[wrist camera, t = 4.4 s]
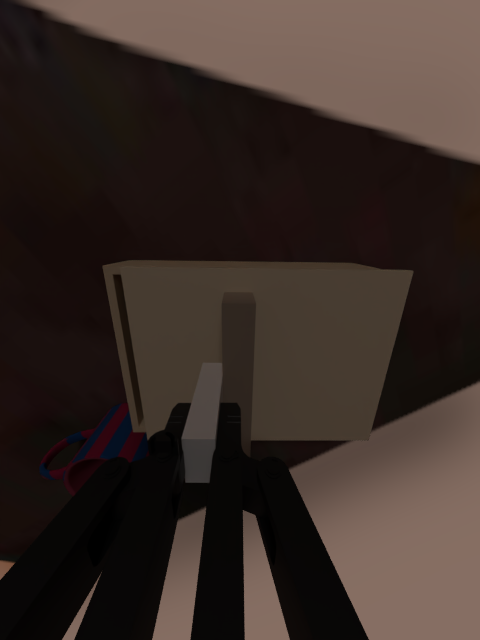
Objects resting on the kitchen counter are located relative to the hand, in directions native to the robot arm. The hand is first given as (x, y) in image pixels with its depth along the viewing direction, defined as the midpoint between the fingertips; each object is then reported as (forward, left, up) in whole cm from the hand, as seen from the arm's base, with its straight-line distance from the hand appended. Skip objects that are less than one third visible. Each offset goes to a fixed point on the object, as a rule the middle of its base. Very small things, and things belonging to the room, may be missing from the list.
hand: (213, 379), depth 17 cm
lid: (+4, 0, -2) cm, 4 cm away
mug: (-12, -11, -7) cm, 18 cm away
